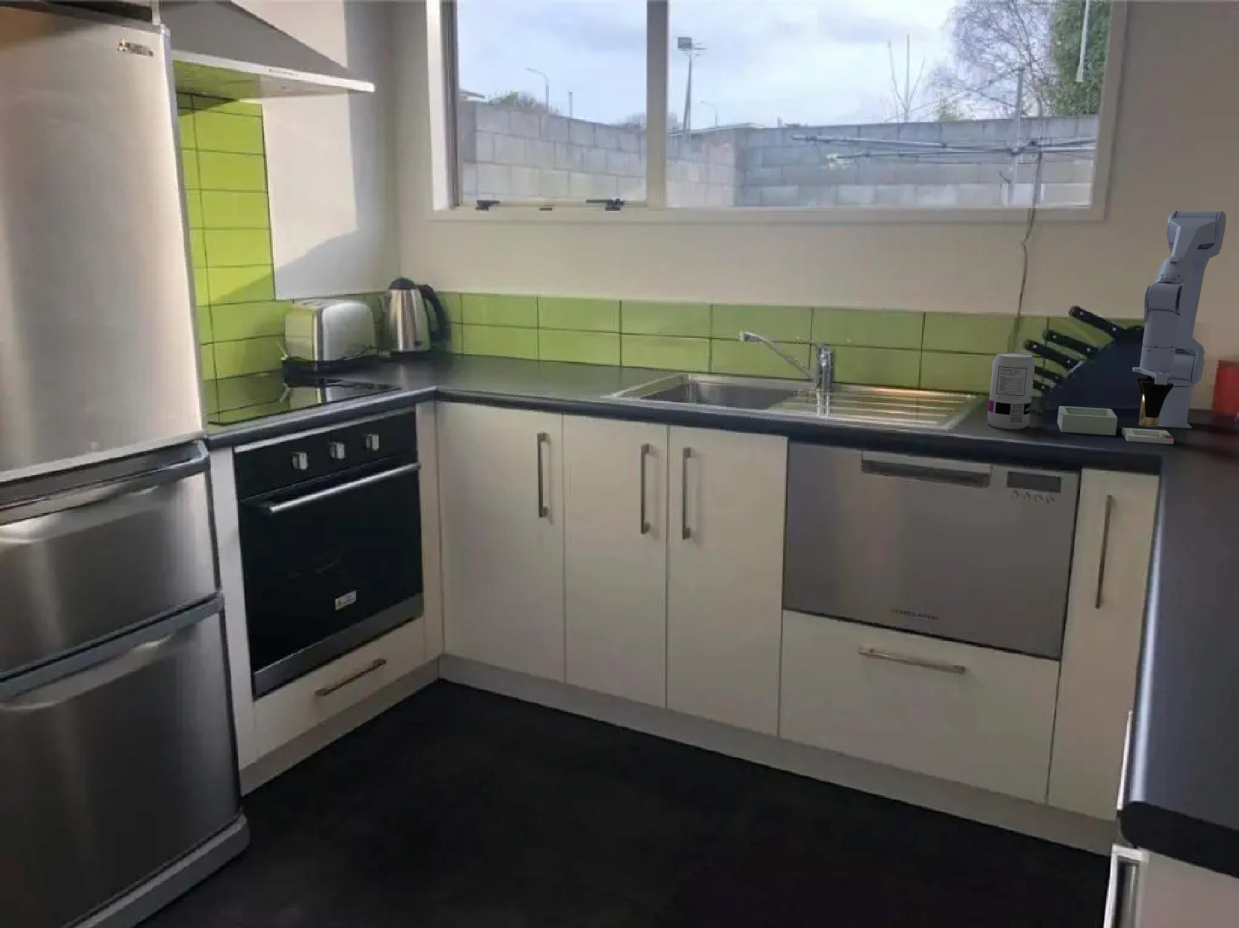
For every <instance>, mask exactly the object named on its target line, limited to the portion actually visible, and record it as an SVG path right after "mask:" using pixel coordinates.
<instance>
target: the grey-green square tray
mask: <svg viewBox="0 0 1239 928" xmlns="http://www.w3.org/2000/svg"><path fill="white" fill-rule="evenodd" d="M1056 423H1057V425H1058V428H1059V430H1060V433H1061V432H1062V433H1073V434H1075V433H1077V434H1088V435H1104V436H1105V435H1106V436H1116V434H1117V426H1118V424H1117V423H1118V417H1117V415H1116V413H1114V411H1113V410H1112V409H1111V408H1101V407H1084V406H1082V407H1081V406H1065V405H1064V406H1063V405H1059V406H1058V411H1057V422H1056Z"/></svg>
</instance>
